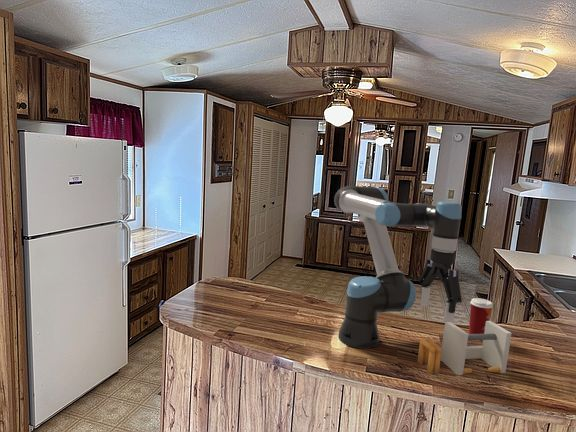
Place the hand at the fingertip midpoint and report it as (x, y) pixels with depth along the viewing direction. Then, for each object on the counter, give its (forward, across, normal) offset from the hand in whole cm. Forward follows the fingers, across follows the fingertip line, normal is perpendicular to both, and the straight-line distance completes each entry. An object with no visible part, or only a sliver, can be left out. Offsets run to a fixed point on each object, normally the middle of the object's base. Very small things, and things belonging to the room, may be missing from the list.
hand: (435, 313), depth 130 cm
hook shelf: (+19, -1, -16) cm, 25 cm away
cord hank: (+19, 0, +1) cm, 19 cm away
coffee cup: (+19, +21, -35) cm, 45 cm away
